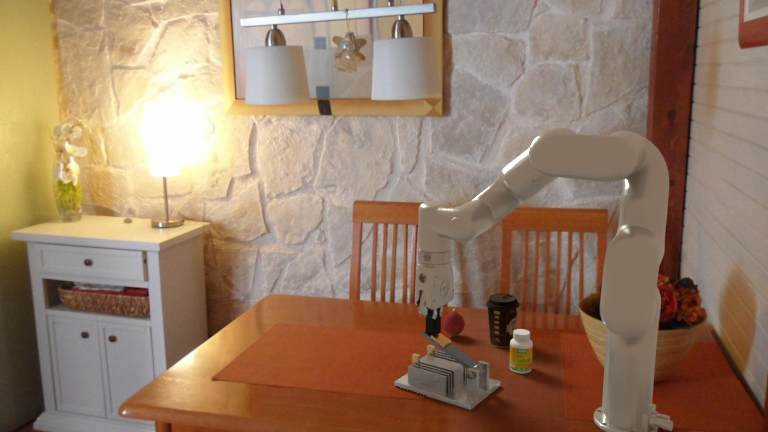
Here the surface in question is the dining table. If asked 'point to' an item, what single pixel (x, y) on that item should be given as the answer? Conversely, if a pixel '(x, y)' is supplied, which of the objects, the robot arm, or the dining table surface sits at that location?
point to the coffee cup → (502, 319)
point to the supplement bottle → (521, 352)
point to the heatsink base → (447, 379)
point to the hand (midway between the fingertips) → (433, 332)
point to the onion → (454, 323)
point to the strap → (454, 352)
